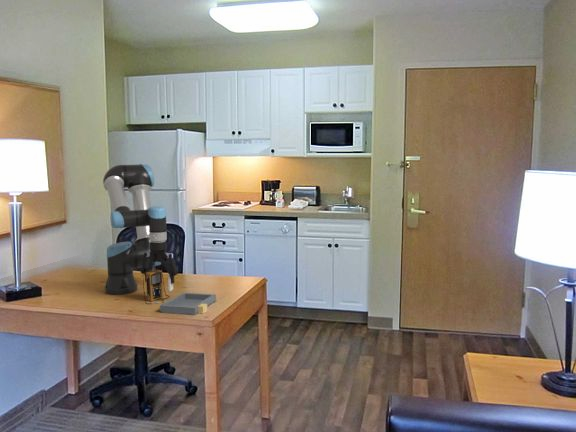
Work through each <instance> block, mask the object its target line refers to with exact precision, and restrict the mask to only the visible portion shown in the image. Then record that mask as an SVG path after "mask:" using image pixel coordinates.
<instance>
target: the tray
mask: <svg viewBox="0 0 576 432" xmlns="http://www.w3.org/2000/svg"><path fill="white" fill-rule="evenodd" d="M215 301H216V302H217V294H212V293H199V292H195V293H194V292H182V293H179V294H178V295H176V296H174V297H173V298H171V299H169V300H167V301H165V303H164V302H163V303H162V304H160V305H159V313H161V314H162V313H163V314H175V315H186V314H187V316H189V315H191V316H196V315H197V313H198V314H200V313H204V312H205V313H206V311H207V312H208V308H209V307H210V306H211V305H212V303H213V304H214V303H216V302H215ZM209 305H210V306H209ZM205 313H204V314H205Z"/></svg>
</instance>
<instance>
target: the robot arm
mask: <svg viewBox="0 0 576 432" xmlns="http://www.w3.org/2000/svg"><path fill="white" fill-rule="evenodd" d="M102 184H103V187H104V189H105V190H106V191H107V194H108V197H109V201H110V204H111V208H112V211H111V212H110V214H109V215H110V226H111V227H112V228H114V229H125V228H135V229H136V236H137V238H136V239H135V240H134V244H132V242H131V241H120V242H116V243H113V244H110V245H108V246H107V249H106V260H107V261H106V262H107V264H106V265H107V280H106V283H105V286H104V293H105V294H107V295H108V294H109V295H124V294H130V293H131V294H132V293H134V292H136V291H138V290H139V289H138V283H137V280H136V278H135V276H134V269H140V268H141V270H140V274H142V275H143V276H144V283H146V273H147V272H151V271H152V268H154V263H155V267H156V266H161V262H162V265H163V266H164V268H165V270H166V272H167V273H168V275H169V276H168V277H167V278H168V279H167V281H168V283H167V285H168V292H171V291H173V290H174V283H175V276H178V275H179V272H178V268H177V265H176V261H175V258H174V257H175V254H174V252H171V253H170V252H169V253H168V242H167V239H168V238H167V237H168V234H167V210H166V207H165V206H161V205H157V206H155V205H154V206H152V204H151V197H150V192H151V191H152V187H154V185H155V177H154V172H153V170H152V167H151V166H150V165H148V164H142V163H139V164H117V165H115V166H112V167H111V168H109V169H108V170H107V171H106V172H105V174H104V177H103V181H102ZM124 188H127V190H128V193H130V194H131V196H132V204H133V210H132V209H131V207H130V204H129V200H128V197H127V194H126V191H125V189H124ZM146 258H147V259H146ZM150 258H151V259H150ZM145 259H146V260H145ZM144 260H145V262H144ZM143 263H144V266H143Z"/></svg>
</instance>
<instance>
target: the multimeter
mask: <svg viewBox="0 0 576 432" xmlns="http://www.w3.org/2000/svg"><path fill="white" fill-rule="evenodd" d="M146 259H147V258H146ZM146 259H145V260H146ZM150 259H151V258H150ZM145 260H144V262H145ZM162 265H163V264H162V262H161V264H160V269H161V270H160V269H156V266H155V263H154V266H153V267H152V269H151V271H150V272H147V273H146V282H145V281H142V287H143V290H145V285H144V284H145V283H146V293H147V295H146V294H145V292H143V297H144V298H143V299H144V302H145V304H146V305H152V304H153V305H154V304H155V305H156V304H159V303H161V301H156V300H159V299H160V300H161V299H163V304H164V303H165V302H166V301H165V300H166V299H169V298H170V295H167V294H166V290H165V287H164V286H165V282H164V281H165V280H164V279H163V278H164V275H163V268H162ZM143 266H144V263H143ZM164 295H165V296H166V297H164ZM146 296H147V299H146ZM163 297H164V298H163ZM146 300H147V301H148V303H147V301H146ZM149 301H150V302H151V303H149ZM154 301H156V302H154Z"/></svg>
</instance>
